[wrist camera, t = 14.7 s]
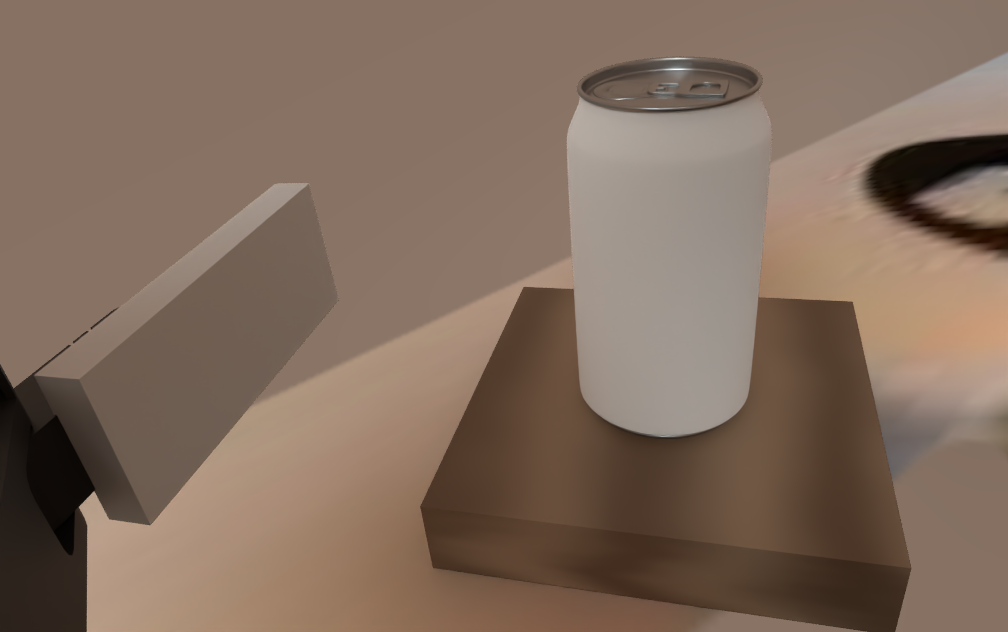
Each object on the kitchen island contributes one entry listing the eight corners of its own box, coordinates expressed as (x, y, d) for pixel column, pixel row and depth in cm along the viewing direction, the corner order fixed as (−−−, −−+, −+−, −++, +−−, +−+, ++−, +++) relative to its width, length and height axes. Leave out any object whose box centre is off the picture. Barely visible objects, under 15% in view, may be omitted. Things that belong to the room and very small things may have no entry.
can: (599, 336, 34) (589, 54, 28) (754, 352, 32) (782, 51, 26) (560, 431, 29) (537, 111, 23) (742, 457, 27) (772, 113, 21)
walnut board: (843, 357, 36) (852, 301, 34) (894, 635, 24) (911, 568, 22) (528, 337, 40) (523, 287, 38) (433, 567, 28) (420, 506, 26)
